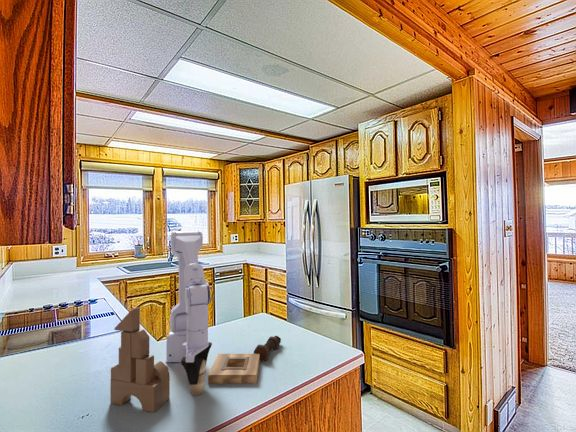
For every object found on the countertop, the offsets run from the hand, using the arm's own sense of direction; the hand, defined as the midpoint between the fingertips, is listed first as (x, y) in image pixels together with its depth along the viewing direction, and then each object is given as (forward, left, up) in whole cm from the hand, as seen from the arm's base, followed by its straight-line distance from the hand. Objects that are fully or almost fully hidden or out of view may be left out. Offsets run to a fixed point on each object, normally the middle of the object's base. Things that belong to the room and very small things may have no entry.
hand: (197, 376), depth 87 cm
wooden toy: (-15, -4, -4) cm, 16 cm away
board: (+9, +11, -4) cm, 15 cm away
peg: (0, 0, -4) cm, 4 cm away
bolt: (+19, +25, -5) cm, 32 cm away
